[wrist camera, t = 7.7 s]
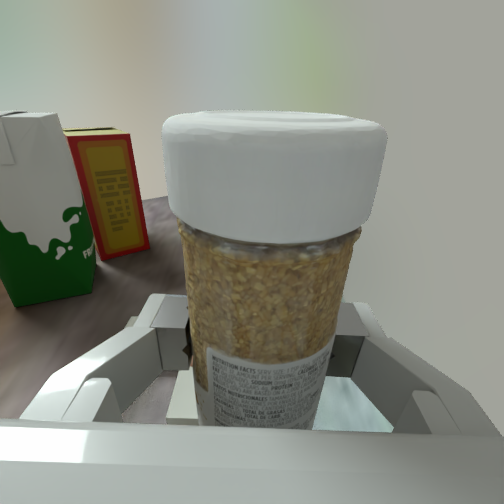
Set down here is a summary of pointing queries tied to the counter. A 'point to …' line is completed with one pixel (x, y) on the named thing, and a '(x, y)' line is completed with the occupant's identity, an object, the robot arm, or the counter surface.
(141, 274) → the counter surface
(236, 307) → the sprinkles bottle
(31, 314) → the counter surface
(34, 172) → the milk carton
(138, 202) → the baking soda box
